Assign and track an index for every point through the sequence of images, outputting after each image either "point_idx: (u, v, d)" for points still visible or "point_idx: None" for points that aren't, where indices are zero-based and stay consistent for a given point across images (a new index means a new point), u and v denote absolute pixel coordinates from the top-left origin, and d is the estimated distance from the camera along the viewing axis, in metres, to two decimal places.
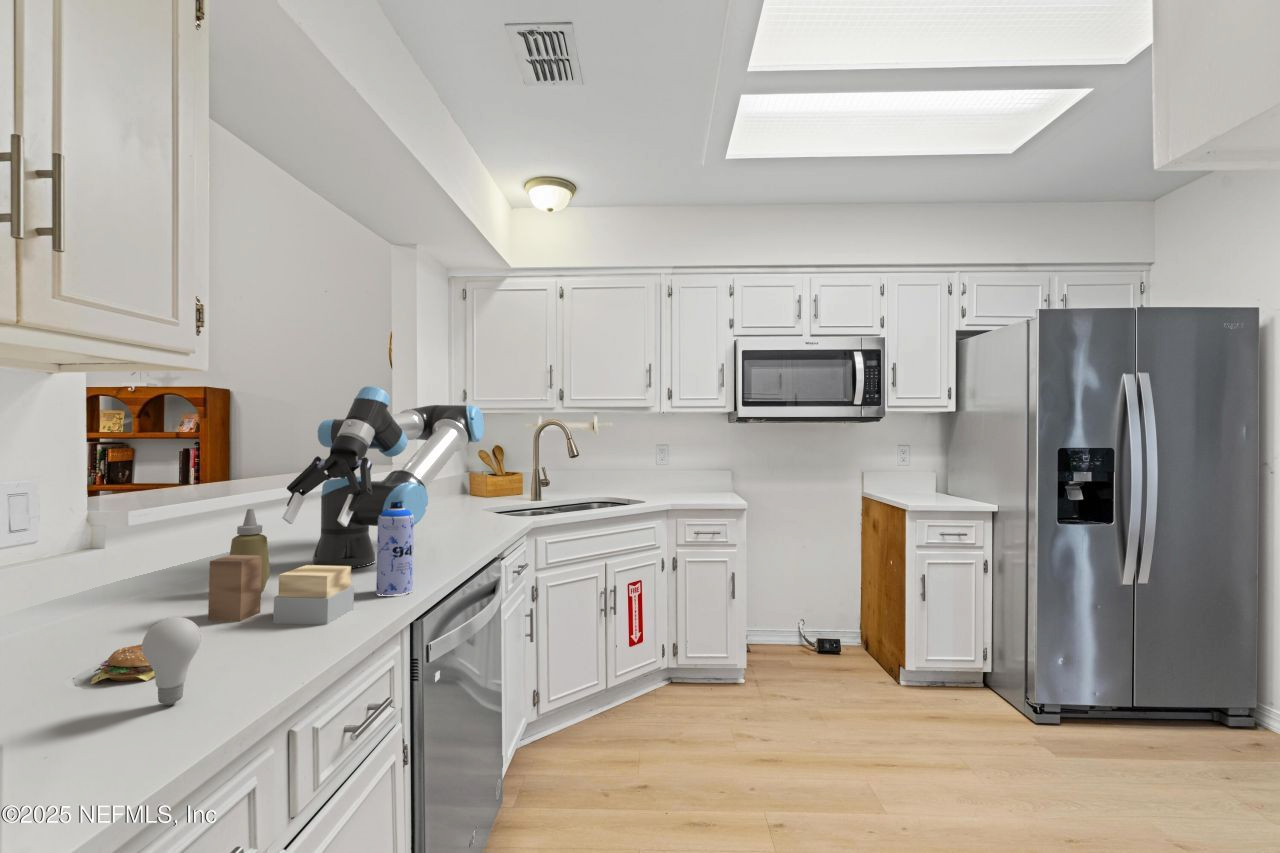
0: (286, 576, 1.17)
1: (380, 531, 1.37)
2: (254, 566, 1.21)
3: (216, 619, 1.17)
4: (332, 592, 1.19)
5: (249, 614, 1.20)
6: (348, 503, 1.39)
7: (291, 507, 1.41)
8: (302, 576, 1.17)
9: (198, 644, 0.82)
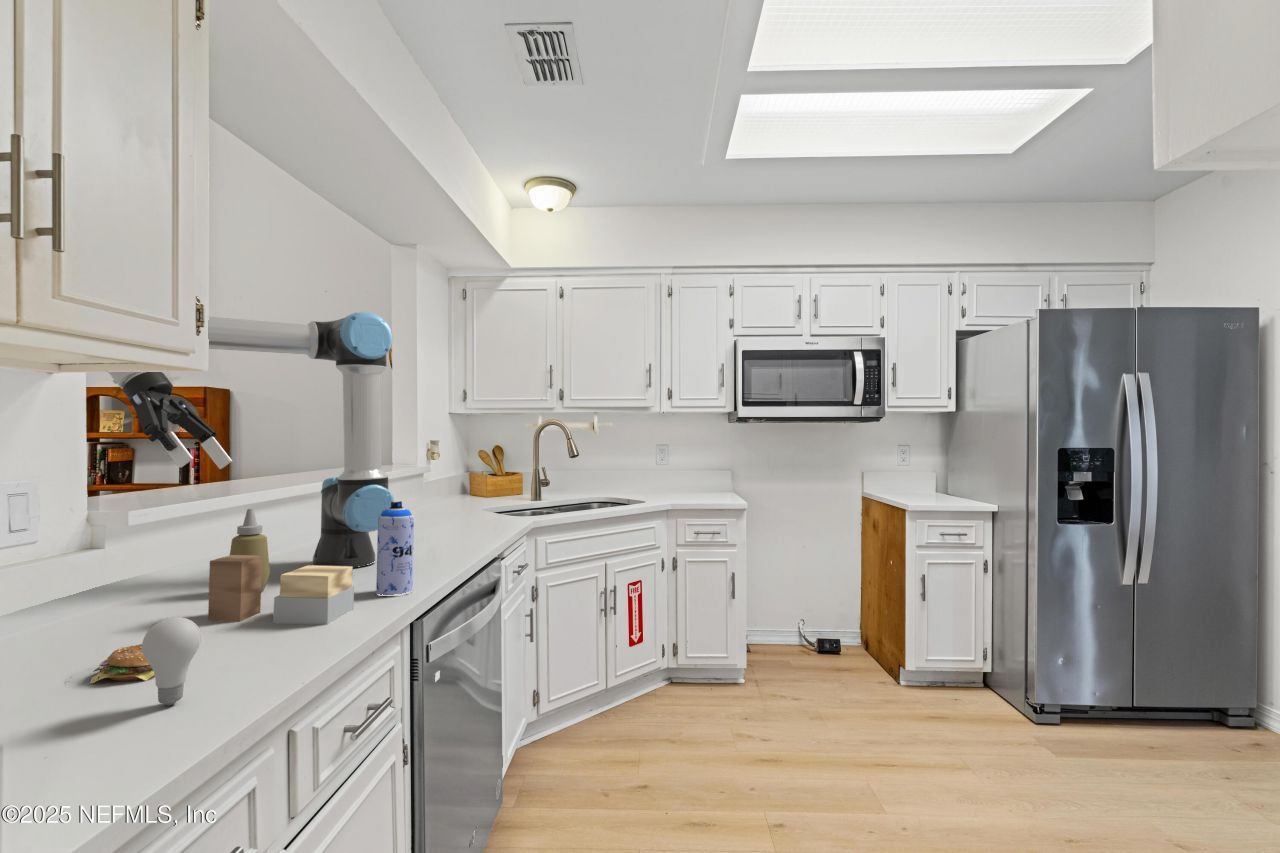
0: (287, 576, 1.17)
1: (380, 531, 1.37)
2: (254, 566, 1.21)
3: (216, 619, 1.17)
4: (333, 592, 1.19)
5: (249, 614, 1.20)
6: (166, 448, 1.20)
7: (212, 457, 1.34)
8: (303, 576, 1.17)
9: (198, 644, 0.82)
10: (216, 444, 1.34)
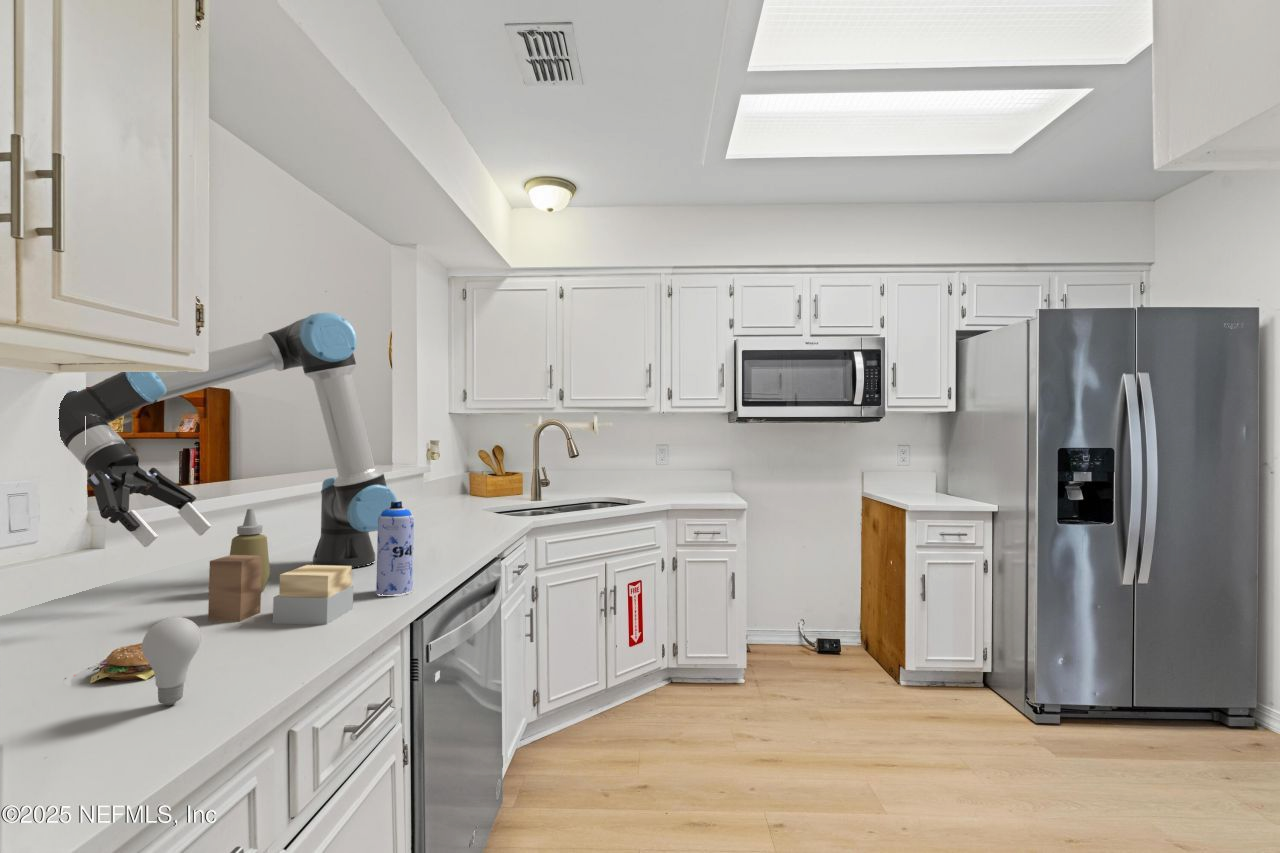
0: (287, 576, 1.17)
1: (380, 531, 1.37)
2: (254, 566, 1.21)
3: (216, 619, 1.17)
4: (333, 592, 1.19)
5: (249, 614, 1.20)
6: None
7: (190, 524, 1.27)
8: (303, 576, 1.17)
9: (198, 644, 0.82)
10: (193, 510, 1.27)
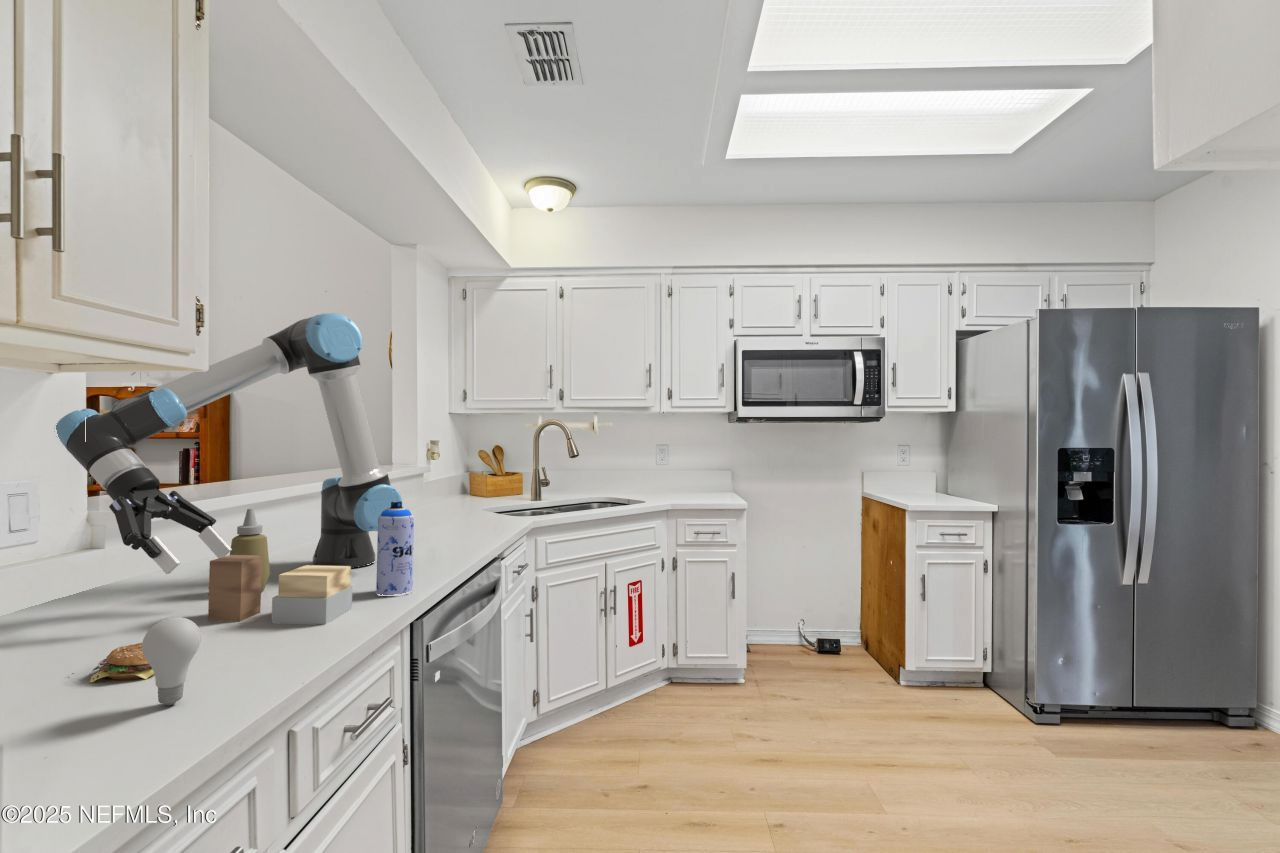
0: (286, 576, 1.17)
1: (380, 531, 1.37)
2: (254, 566, 1.21)
3: (216, 619, 1.17)
4: (332, 592, 1.19)
5: (249, 614, 1.20)
6: None
7: (211, 548, 1.26)
8: (302, 576, 1.17)
9: (198, 644, 0.82)
10: (213, 534, 1.26)
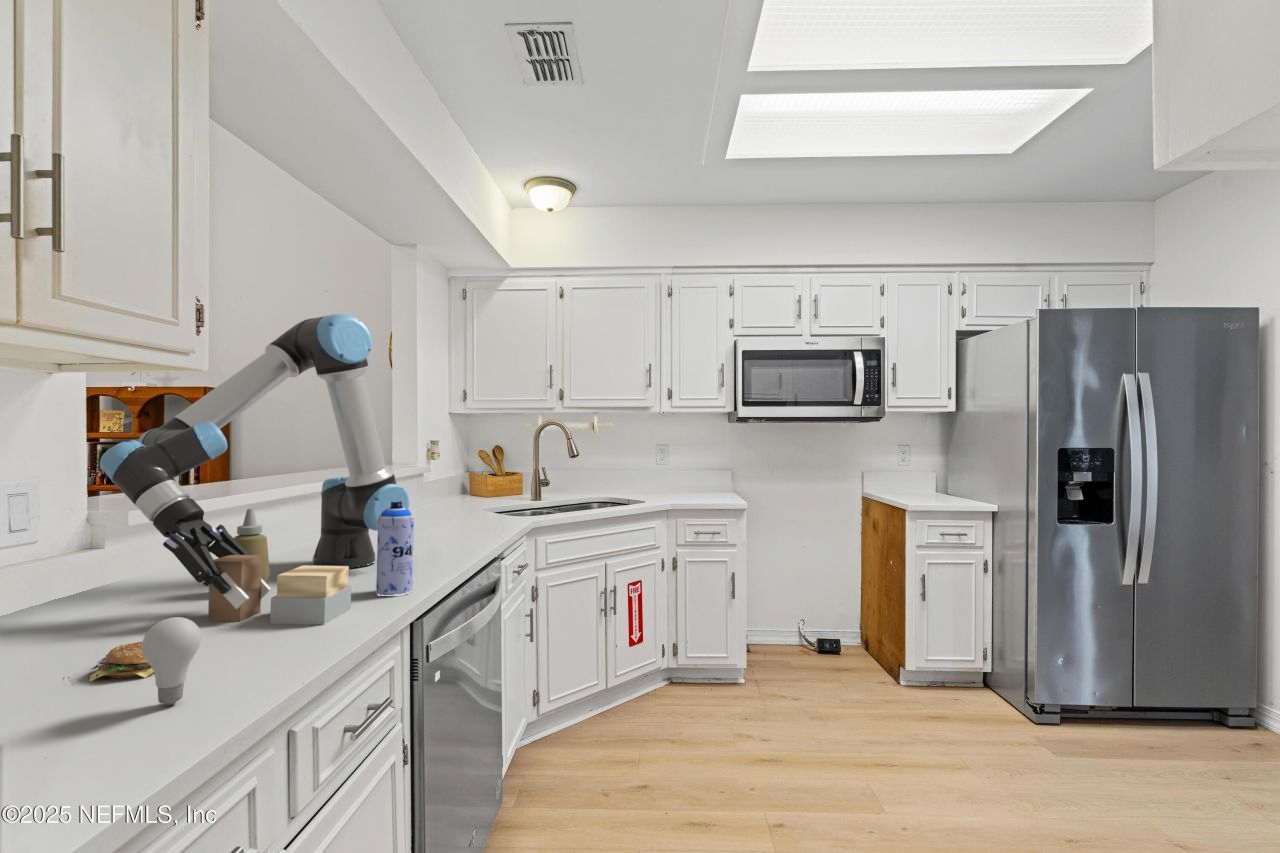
0: (285, 577, 1.17)
1: (380, 531, 1.37)
2: (254, 566, 1.21)
3: (216, 619, 1.17)
4: (331, 592, 1.19)
5: (249, 614, 1.20)
6: None
7: None
8: (301, 576, 1.17)
9: (198, 644, 0.82)
10: None
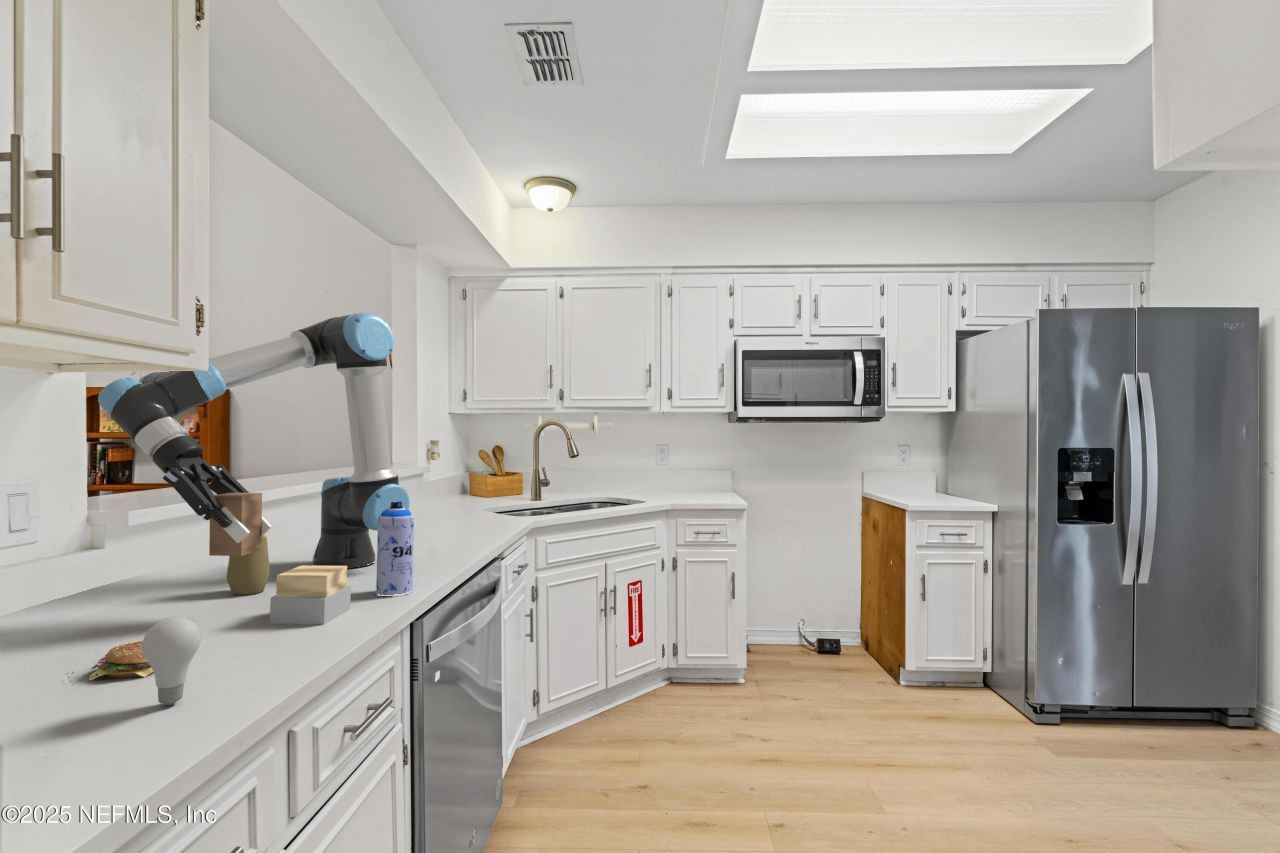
0: (284, 576, 1.17)
1: (380, 531, 1.37)
2: (254, 502, 1.21)
3: (217, 554, 1.17)
4: (331, 592, 1.19)
5: (250, 550, 1.20)
6: None
7: None
8: (301, 576, 1.17)
9: (198, 644, 0.82)
10: None
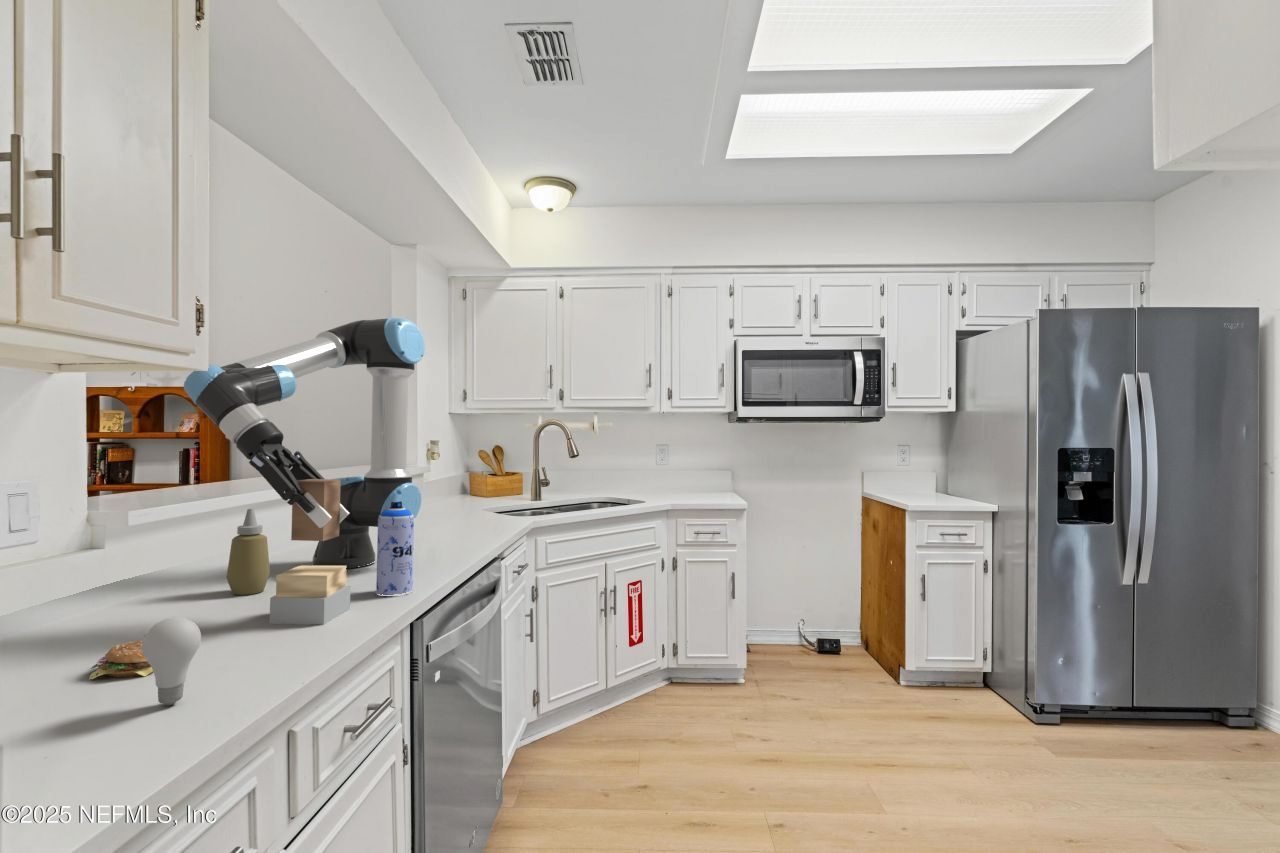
0: (284, 577, 1.17)
1: (380, 531, 1.37)
2: (334, 489, 1.22)
3: (299, 538, 1.19)
4: (331, 591, 1.19)
5: (330, 535, 1.21)
6: (304, 510, 1.18)
7: None
8: (301, 576, 1.17)
9: (198, 644, 0.82)
10: None
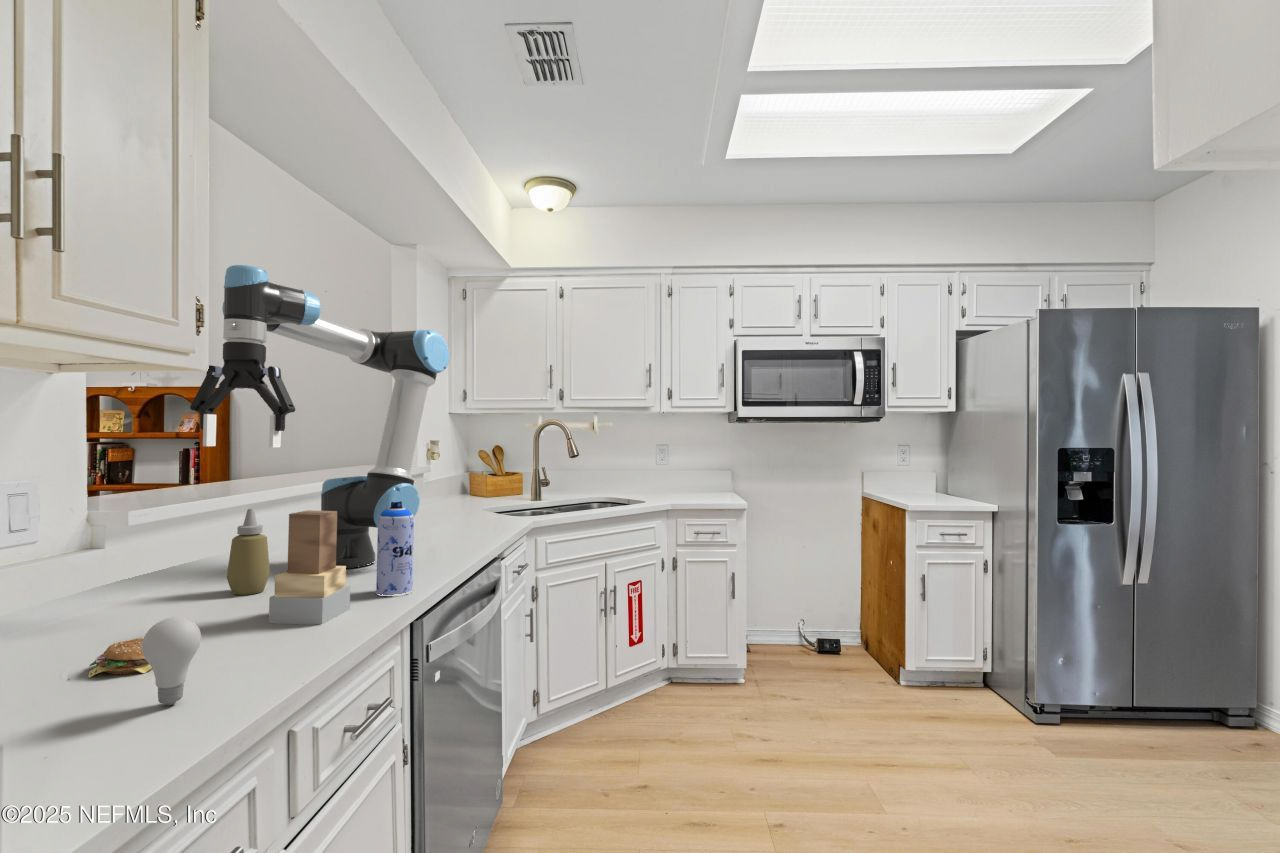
0: (282, 576, 1.17)
1: (380, 531, 1.37)
2: (331, 521, 1.22)
3: (295, 571, 1.19)
4: (329, 592, 1.19)
5: (326, 568, 1.21)
6: (273, 426, 1.29)
7: (207, 432, 1.29)
8: (299, 576, 1.17)
9: (198, 644, 0.82)
10: (215, 424, 1.31)
